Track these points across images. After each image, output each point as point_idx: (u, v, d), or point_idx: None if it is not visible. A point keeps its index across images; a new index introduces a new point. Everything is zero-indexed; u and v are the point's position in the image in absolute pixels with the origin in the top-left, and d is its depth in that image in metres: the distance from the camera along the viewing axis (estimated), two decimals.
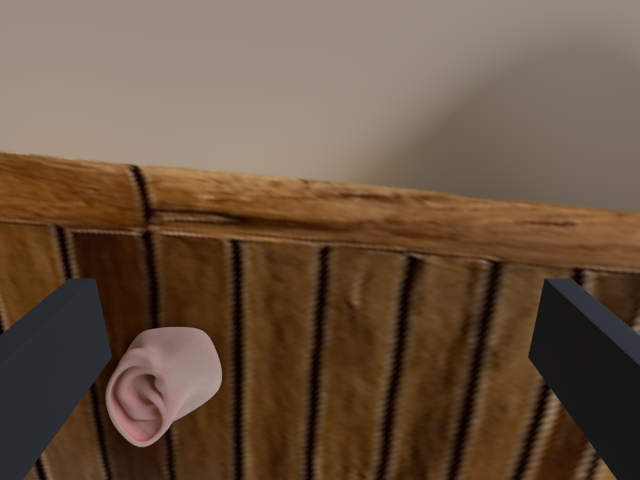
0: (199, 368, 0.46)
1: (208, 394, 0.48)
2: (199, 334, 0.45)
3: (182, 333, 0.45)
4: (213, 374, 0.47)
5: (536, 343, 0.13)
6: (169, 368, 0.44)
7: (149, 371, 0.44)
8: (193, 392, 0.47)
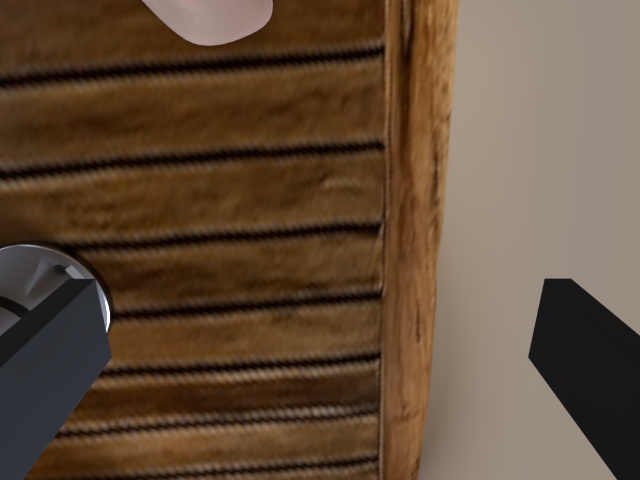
0: (224, 17, 0.38)
1: (183, 30, 0.39)
2: (267, 14, 0.39)
3: None
4: (215, 35, 0.39)
5: (536, 343, 0.13)
6: None
7: None
8: (189, 10, 0.38)
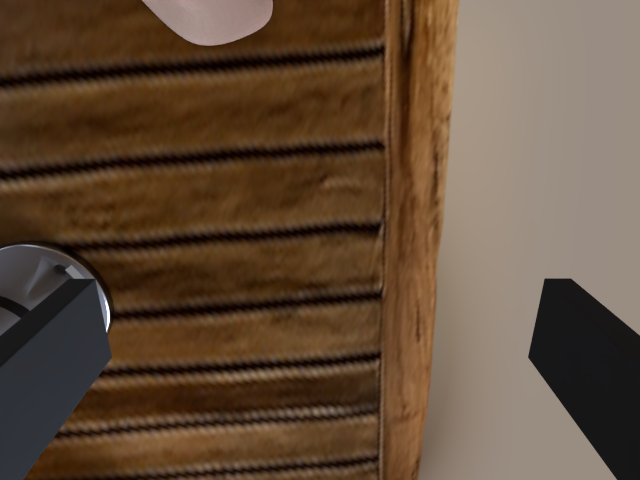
0: (224, 17, 0.38)
1: (183, 30, 0.39)
2: (267, 14, 0.39)
3: None
4: (215, 35, 0.39)
5: (536, 343, 0.13)
6: None
7: None
8: (189, 10, 0.38)
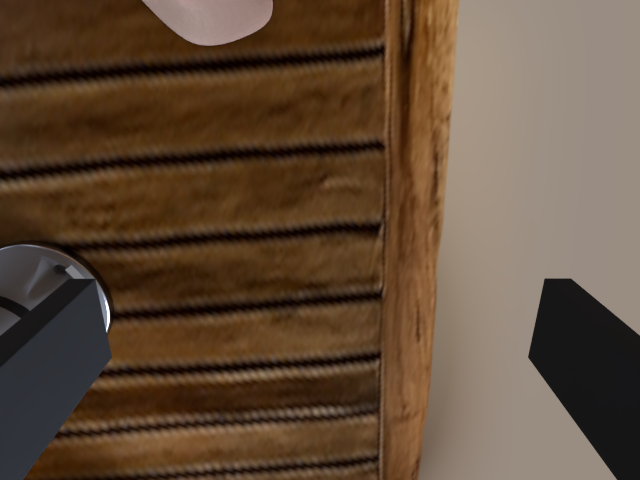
0: (224, 17, 0.38)
1: (183, 30, 0.39)
2: (267, 14, 0.39)
3: None
4: (215, 35, 0.39)
5: (536, 343, 0.13)
6: None
7: None
8: (189, 10, 0.38)
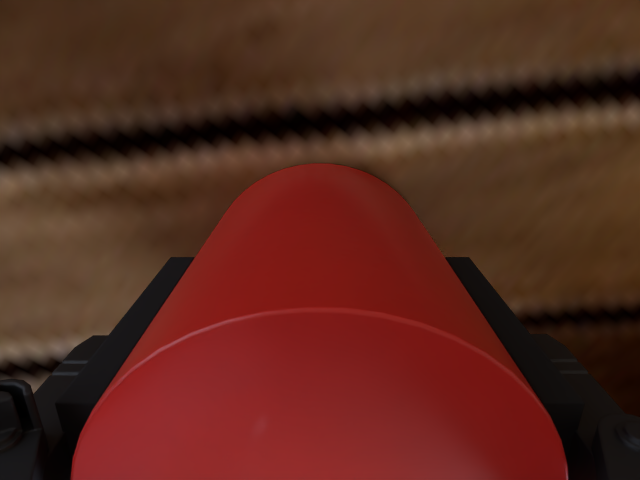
0: None
1: None
2: None
3: None
4: None
5: None
6: None
7: None
8: None
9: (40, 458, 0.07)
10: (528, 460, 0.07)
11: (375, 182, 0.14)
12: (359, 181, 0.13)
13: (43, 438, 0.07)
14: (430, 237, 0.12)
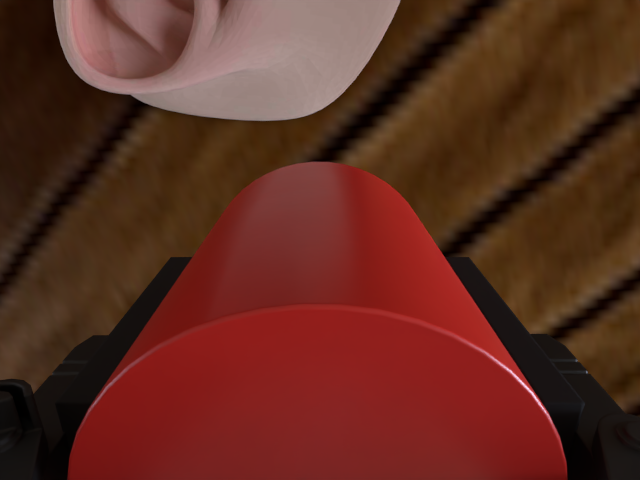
0: (340, 26, 0.18)
1: (289, 105, 0.20)
2: None
3: None
4: (342, 70, 0.20)
5: None
6: None
7: None
8: (279, 66, 0.19)
9: (40, 458, 0.07)
10: (527, 458, 0.06)
11: (374, 180, 0.14)
12: (358, 179, 0.13)
13: (43, 438, 0.07)
14: (429, 235, 0.12)
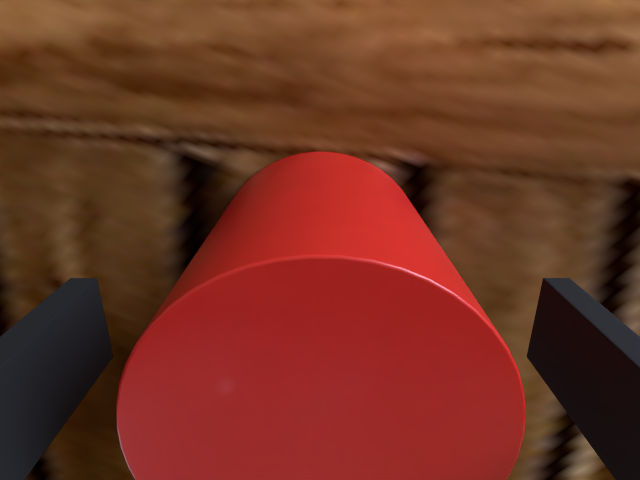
0: None
1: None
2: None
3: None
4: None
5: (534, 343, 0.13)
6: None
7: None
8: None
9: None
10: (491, 385, 0.08)
11: (370, 168, 0.15)
12: (356, 166, 0.14)
13: None
14: None
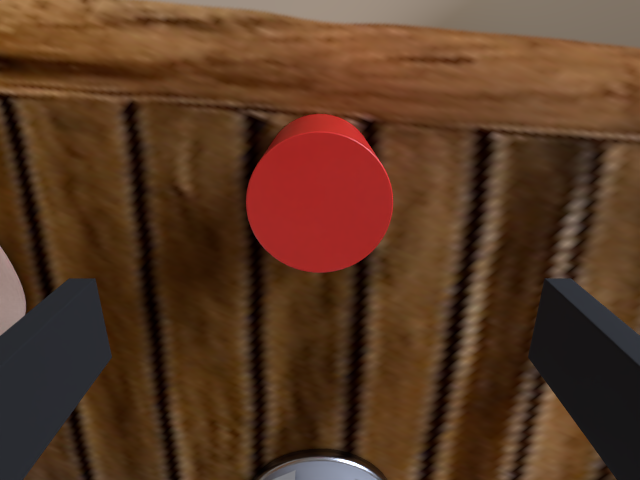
0: None
1: (9, 322, 0.36)
2: None
3: None
4: (8, 293, 0.35)
5: (536, 343, 0.13)
6: None
7: None
8: None
9: None
10: (378, 181, 0.23)
11: (344, 121, 0.30)
12: (336, 119, 0.29)
13: None
14: (365, 140, 0.28)
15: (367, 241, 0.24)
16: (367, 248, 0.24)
